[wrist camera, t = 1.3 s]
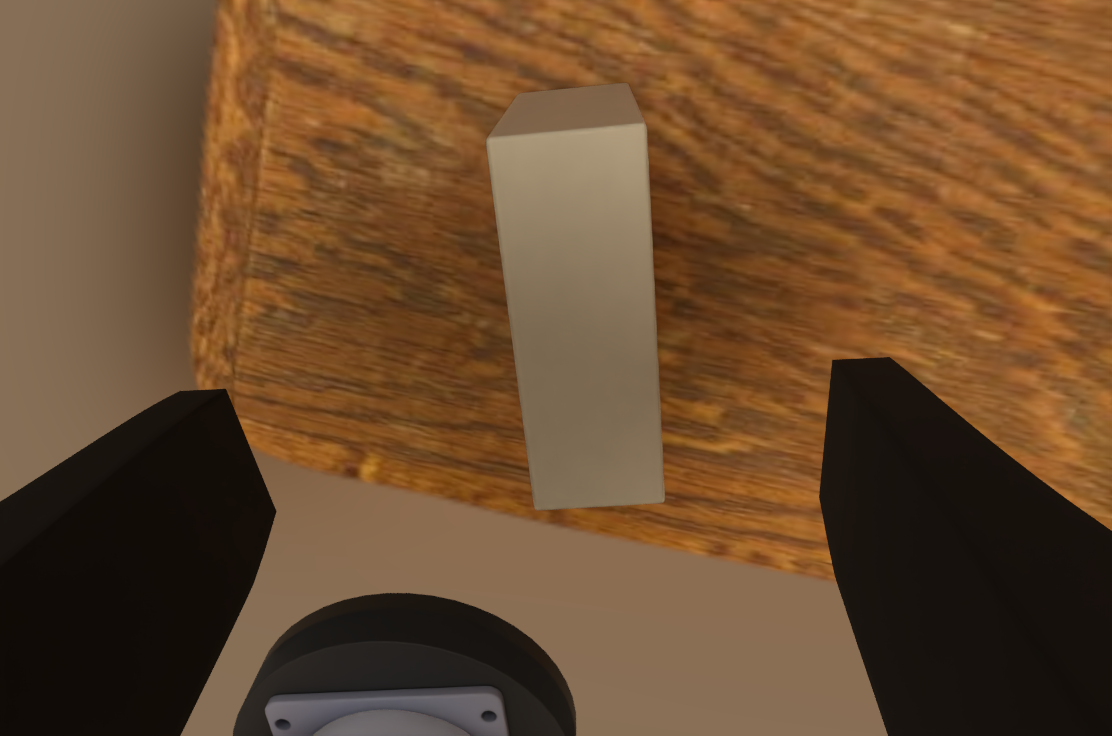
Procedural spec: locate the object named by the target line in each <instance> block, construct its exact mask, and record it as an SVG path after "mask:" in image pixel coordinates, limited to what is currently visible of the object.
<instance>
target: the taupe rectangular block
mask: <svg viewBox="0 0 1112 736" xmlns="http://www.w3.org/2000/svg"><path fill="white" fill-rule="evenodd" d="M486 148H487V155H488V163H489V171H490V178H491V186H492V193H493V201H494V208H495V216H496V223H497V231H498V238H499V246H500V254H501V261H502V269H503V276H504V284H505V291H506V299H507V306H508V314H509V321H510V329H511V337H512V344H513V352H514V359H515V367H516V374H517V382H518V389H519V397H520V404H521V412H522V420H523V427H524V435H525V442H526V450H527V457H528V465H529V472H530V480H531V487H532V495H533V503H534V507H535V509H536V510H555V509H571V508H588V507H605V506H622V505H639V504H655V503H663V502H664V500H665V488H664V467H663V446H662V426H661V405H660V384H659V364H658V343H657V322H656V302H655V281H654V260H653V240H652V219H651V198H650V178H649V157H648V136H647V126H646V123H645V121H644V119H643V116H642V114H641V112H640V109H639V107H638V105H637V102H636V100H635V98H634V95H633V93H632V91H631V88H630V86H629V84H628V83H617V84H607V85H597V86H587V87H577V88H567V89H557V90H547V91H537V92H527V93H519V94H518V95H517V96H516V97H515V99H514V100H513V102H512V103H511V105H510V106H509V107H508V109H507V110H506V112H505V113H504V115H503V116H502V117H501V119H500V120H499V122H498V123H497V125H496V126H495V127H494V129H493V130H492V132H491V133H490V135H489V136H488V137H487V139H486Z"/></svg>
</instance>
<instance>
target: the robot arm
mask: <svg viewBox="0 0 1112 736" xmlns="http://www.w3.org/2000/svg"><path fill="white" fill-rule="evenodd" d="M819 498H820V503H821V509H822V514H823V519H824V524H825V530H826V535H827V540H828V545H829V550H830V555H831V559H832V564H833V569H834V574H835V577H836V581H837V584H838V587H839V590H840V593H841V596H842V599H843V602H844V605H845V608H846V611H847V614H848V617H849V620H850V623H851V626H852V629H853V633H854V635H855V639H856V642H857V645H858V648H859V650H860V653H861V656H862V659H863V662H864V665H865V668H866V671H867V674H868V677H869V680H870V683H871V686H872V689H873V692H874V695H875V698H876V701H877V704H878V707H879V710H880V713H881V716H882V719H883V722H884V725H885V728H886V731H887V734H888V736H1112V531H1111V530H1110V529H1108V528H1107V527H1105V526H1104V525H1103V524H1101V523H1100V522H1098V521H1097V520H1095V519H1094V518H1093V517H1091V516H1090V515H1088V514H1087V513H1085V512H1084V511H1083V510H1081V509H1080V508H1078V507H1077V506H1076V505H1074V504H1073V503H1071V502H1070V501H1068V500H1067V499H1066V498H1064V497H1063V496H1062V495H1060V494H1059V493H1058V492H1056V491H1055V490H1054V489H1052V488H1051V487H1050V486H1048V485H1047V484H1046V483H1044V482H1043V481H1042V480H1040V479H1039V478H1038V477H1036V476H1035V475H1034V474H1032V473H1031V472H1030V471H1028V470H1027V469H1026V468H1025V467H1023V466H1022V465H1021V464H1019V463H1018V462H1017V461H1015V460H1014V459H1013V458H1012V457H1010V456H1009V455H1008V454H1007V453H1005V452H1004V451H1003V450H1002V449H1000V448H999V447H998V446H996V445H995V444H994V443H993V442H991V441H990V440H989V439H988V438H987V437H985V436H984V435H983V434H982V433H980V432H979V431H978V430H977V429H975V428H974V427H973V426H972V425H971V424H969V423H968V422H967V421H966V420H965V419H963V418H962V417H961V416H960V415H959V414H957V413H956V412H955V411H954V410H953V409H951V408H950V407H949V406H948V405H947V404H945V403H944V402H943V401H942V400H941V399H939V398H938V397H937V396H936V395H935V394H934V393H932V392H931V391H930V390H929V389H928V388H926V387H925V386H924V385H923V384H922V383H921V382H919V381H918V380H917V379H916V378H915V377H913V376H912V375H911V374H910V373H909V372H907V371H906V370H905V369H904V368H903V367H901V366H900V365H899V364H898V363H896V362H895V361H894V360H893V359H891V358H890V357H884V358H863V359H842V360H832V369H831V380H830V390H829V401H828V411H827V421H826V432H825V442H824V453H823V463H822V473H821V484H820V494H819ZM275 514H276V509H275V507H274V504H273V502H272V500H271V497H270V495H269V492H268V490H267V487H266V485H265V483H264V480H263V478H262V475H261V473H260V471H259V468H258V466H257V463H256V461H255V458H254V456H253V454H252V451H251V449H250V446H249V444H248V441H247V439H246V437H245V434H244V432H243V429H242V427H241V424H240V422H239V420H238V417H237V415H236V412H235V410H234V407H233V405H232V403H231V400H230V398H229V395H228V393H227V390H226V389H214V390H193V391H179V392H177V393H175V394H174V395H171V396H169V397H167V398H166V399H164V400H162V401H160V402H158V403H156V404H154V405H153V406H151V407H149V408H148V409H146V410H144V411H143V412H141V413H139V414H137V415H136V416H134V417H132V418H131V419H129V420H128V421H126V422H124V423H123V424H121V425H120V426H118V427H116V428H115V429H113V430H112V431H110V432H109V433H107V434H105V435H104V436H102V437H101V438H99V439H97V440H96V441H94V442H93V443H91V444H90V445H88V446H87V447H85V448H84V449H82V450H80V451H79V452H77V453H76V454H74V455H73V456H71V457H69V458H68V459H66V460H65V461H63V462H62V463H60V464H59V465H57V466H55V467H54V468H52V469H51V470H49V471H48V472H46V473H45V474H43V475H42V476H40V477H38V478H37V479H35V480H34V481H32V482H31V483H29V484H28V485H26V486H24V487H23V488H21V489H20V490H18V491H17V492H15V493H14V494H12V495H10V496H9V497H7V498H6V499H4V500H2V501H1V502H0V736H180V735H181V733H182V731H183V729H184V727H185V725H186V723H187V721H188V719H189V717H190V714H191V713H192V710H193V709H194V707H195V705H196V702H197V700H198V698H199V696H200V694H201V692H202V690H203V688H204V686H205V684H206V682H207V680H208V678H209V676H210V674H211V672H212V670H213V668H214V666H215V664H216V661H217V659H218V658H219V656H220V653H221V651H222V649H223V647H224V645H225V643H226V641H227V639H228V637H229V635H230V633H231V630H232V629H233V626H234V624H235V622H236V620H237V618H238V616H239V613H240V612H241V610H242V608H243V605H244V603H245V601H246V599H247V597H248V594H249V592H250V590H251V588H252V586H253V583H254V581H255V578H256V574H257V572H258V569H259V566H260V563H261V560H262V557H263V554H264V551H265V548H266V545H267V541H268V538H269V535H270V531H271V528H272V525H273V521H274V518H275ZM487 711H492V712H487ZM265 714H266V717H267V720H268V723H269V725H270V728H271V731H272V734H273V736H510V734H509V728H508V722H507V716H506V711H505V705H504V699H503V695H502V693H501V692H500V691H499V690H498V689H497V688H495V687H492V686H469V687H446V688H422V689H399V690H376V691H352V692H329V693H305V694H282V695H275V696H273V697H271V698H270V700H269V701H268V704H267V706H266V708H265ZM284 719H285V720H284Z"/></svg>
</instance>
